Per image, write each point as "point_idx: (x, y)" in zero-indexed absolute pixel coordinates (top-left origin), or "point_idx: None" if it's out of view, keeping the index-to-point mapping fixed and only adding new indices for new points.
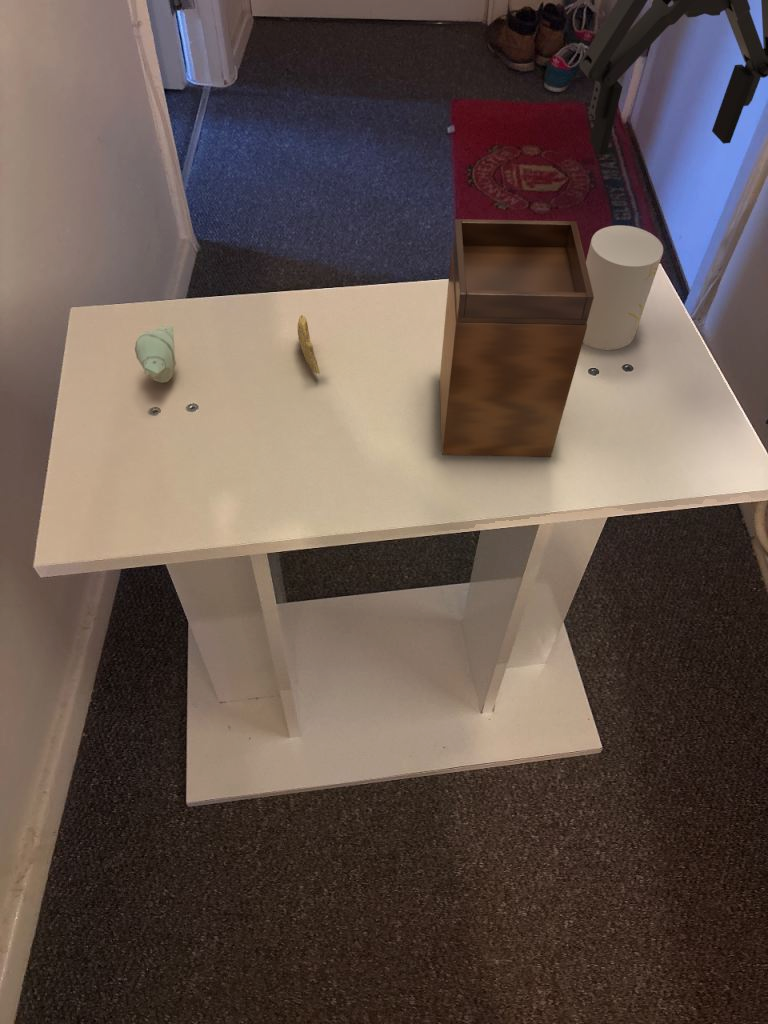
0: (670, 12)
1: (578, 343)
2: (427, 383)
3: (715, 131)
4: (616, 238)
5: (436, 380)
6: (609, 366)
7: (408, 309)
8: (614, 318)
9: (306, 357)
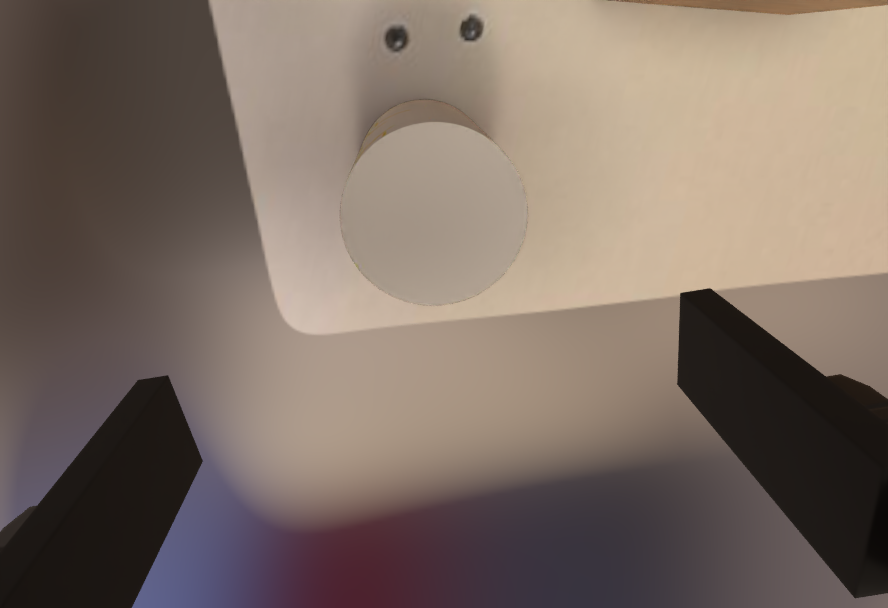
0: None
1: None
2: None
3: (191, 447)
4: (455, 251)
5: None
6: (433, 45)
7: (781, 233)
8: (437, 107)
9: None
